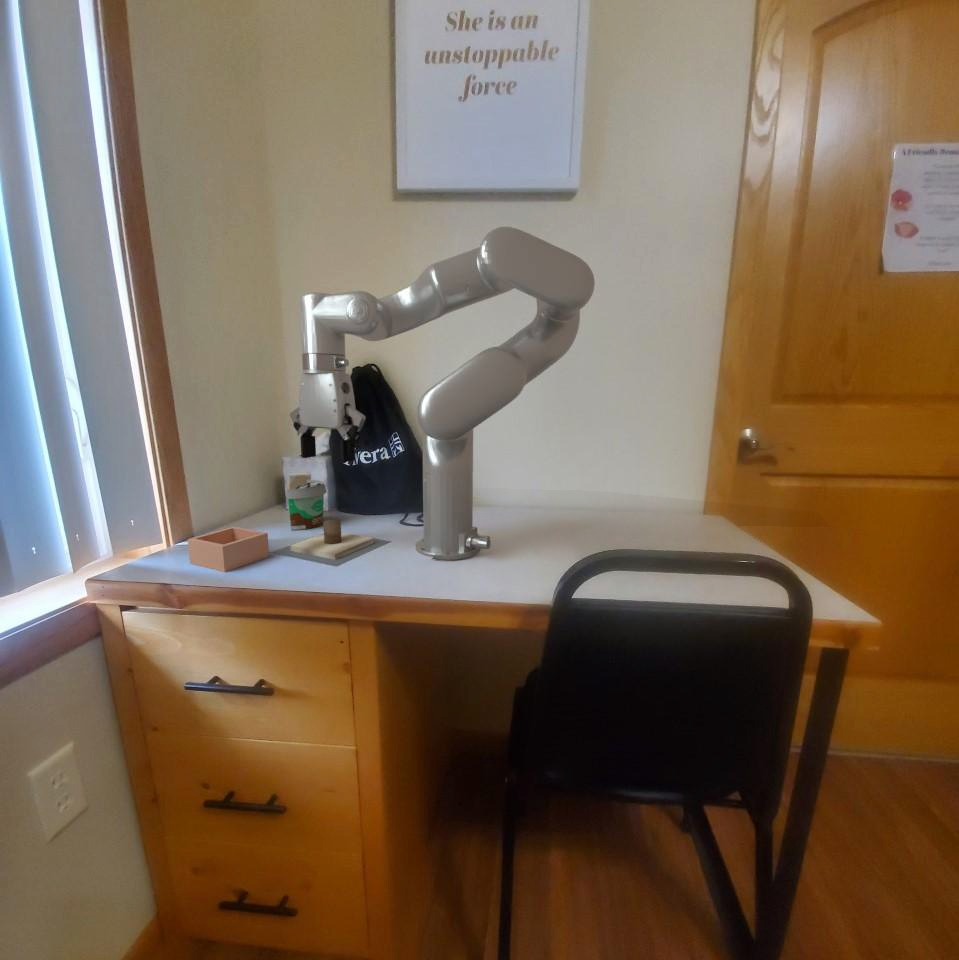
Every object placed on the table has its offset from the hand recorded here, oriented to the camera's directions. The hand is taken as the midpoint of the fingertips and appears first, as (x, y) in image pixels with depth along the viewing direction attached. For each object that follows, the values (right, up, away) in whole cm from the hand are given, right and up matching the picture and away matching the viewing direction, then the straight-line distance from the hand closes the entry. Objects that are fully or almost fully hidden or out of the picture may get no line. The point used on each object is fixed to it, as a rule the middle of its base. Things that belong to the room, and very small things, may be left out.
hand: (328, 459), depth 91 cm
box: (-15, -13, +27) cm, 33 cm away
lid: (0, -17, +3) cm, 17 cm away
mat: (0, -18, +3) cm, 18 cm away
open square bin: (-16, -19, -5) cm, 25 cm away
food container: (-9, -15, +18) cm, 25 cm away
